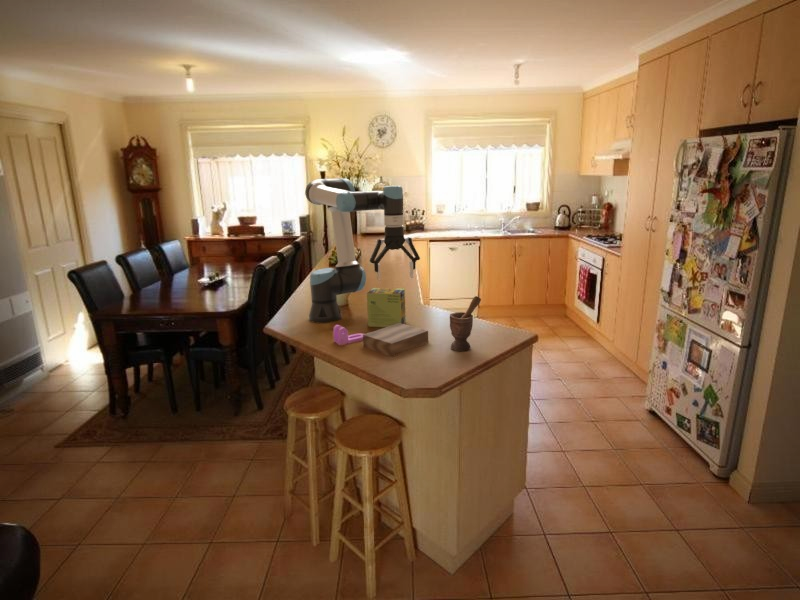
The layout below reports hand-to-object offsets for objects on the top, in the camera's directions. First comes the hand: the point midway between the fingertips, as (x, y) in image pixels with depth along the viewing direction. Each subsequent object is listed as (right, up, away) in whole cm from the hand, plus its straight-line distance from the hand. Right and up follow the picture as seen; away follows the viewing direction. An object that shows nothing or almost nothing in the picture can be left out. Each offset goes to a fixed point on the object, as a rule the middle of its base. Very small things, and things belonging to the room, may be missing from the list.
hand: (395, 278), depth 192 cm
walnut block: (0, -26, -6) cm, 27 cm away
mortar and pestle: (+26, -27, -11) cm, 39 cm away
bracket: (-18, -25, +1) cm, 31 cm away
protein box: (-4, -20, +22) cm, 30 cm away
